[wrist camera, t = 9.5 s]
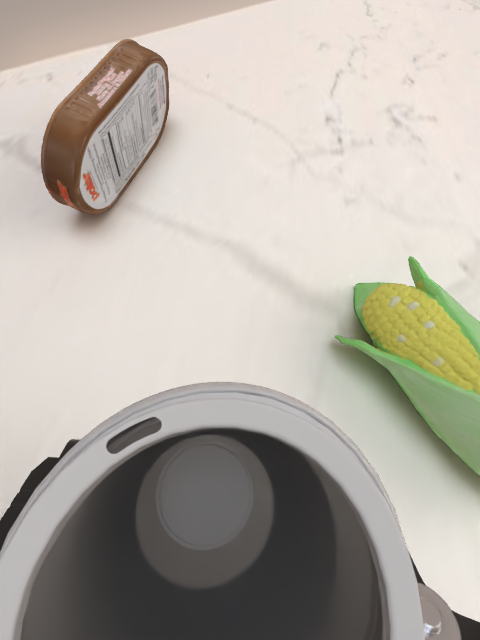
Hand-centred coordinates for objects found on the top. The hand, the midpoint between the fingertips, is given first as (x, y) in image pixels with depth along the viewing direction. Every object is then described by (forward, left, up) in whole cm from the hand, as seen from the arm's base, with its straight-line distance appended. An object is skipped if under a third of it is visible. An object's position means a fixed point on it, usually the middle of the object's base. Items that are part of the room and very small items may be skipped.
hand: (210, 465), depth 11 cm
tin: (-9, +24, -14) cm, 29 cm away
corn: (+17, +5, -14) cm, 23 cm away
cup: (0, -2, -6) cm, 6 cm away
